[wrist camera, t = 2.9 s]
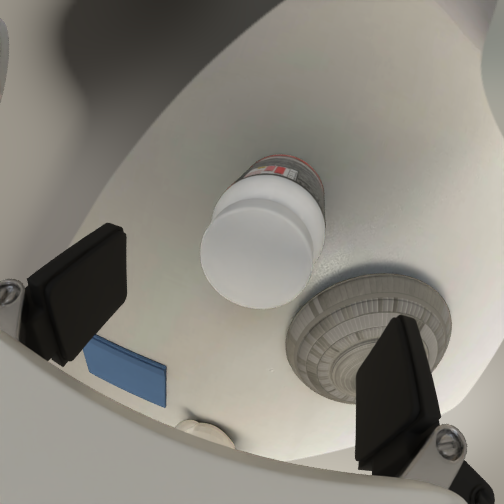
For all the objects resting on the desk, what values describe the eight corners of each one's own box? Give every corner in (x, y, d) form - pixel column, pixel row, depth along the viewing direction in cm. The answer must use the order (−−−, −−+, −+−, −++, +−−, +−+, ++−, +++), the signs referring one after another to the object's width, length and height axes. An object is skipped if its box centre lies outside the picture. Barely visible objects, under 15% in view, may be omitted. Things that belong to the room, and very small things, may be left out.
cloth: (90, 370, 38) (88, 373, 38) (79, 325, 33) (76, 329, 33) (166, 406, 37) (164, 409, 37) (166, 366, 32) (164, 370, 32)
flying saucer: (392, 225, 20) (412, 262, 15) (467, 337, 23) (484, 377, 18) (253, 329, 27) (238, 374, 22) (349, 404, 29) (348, 444, 25)
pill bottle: (238, 155, 20) (176, 195, 11) (322, 151, 19) (326, 189, 10) (247, 232, 23) (200, 314, 14) (324, 231, 21) (324, 320, 13)
